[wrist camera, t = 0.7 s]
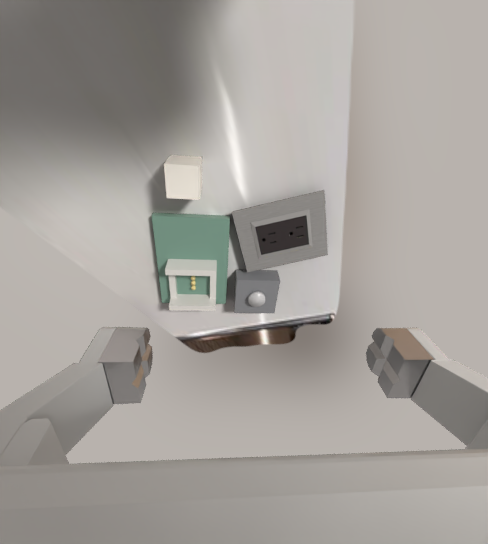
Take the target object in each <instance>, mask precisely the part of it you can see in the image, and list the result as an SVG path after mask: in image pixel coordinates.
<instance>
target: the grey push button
mask: <svg viewBox="0 0 488 544" xmlns="http://www.w3.org/2000/svg"><path fill="white" fill-rule="evenodd" d="M279 284H280V279H279V276H278V272H277V271H273V270H256V271H252V272H247V270H236V277H235V291H234V313H274V312H275V306H276V301H277V295H278V290H279Z"/></svg>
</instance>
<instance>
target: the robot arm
mask: <svg viewBox="0 0 488 544" xmlns="http://www.w3.org/2000/svg"><path fill="white" fill-rule="evenodd" d="M372 338H373V340H374V342H373V343H371V344H370V345H369V346H368V349H367V352H366V355H367V363H368V366H369V368H370V370H371V371H372V372H373V373H374V374H376V375H377V376H379V378H378V383H379V385H380V386H381V388H382V390H383V391H384V393H385V395H386V396H387V398H411V400H412V401H413V402H415V403H416V404H417V405H418V406H419V407H421V408H422V409H423V410H424V411H426V412H427V413H428V414H429V415H430V416H431V417H433V418H434V419H435V420H436V421H438V422H439V423H440V424H441V425H442V426H444V427H445V428H446V429H447V430H448V431H450V432H451V433H452V434H453V435H455V436H456V437H457V438H458V439H459V440H460V441H462V442H463V443H464V444H465V445H467V447H466V448H465V449H459V450H433V451H432V450H431V451H406V452H379V453H352V454H327V455H298V456H273V457H245V458H244V457H243V458H217V459H216V458H215V459H188V460H161V461H136V462H135V461H134V462H107V463H78V464H69V462H68V460H67V458H66V456H65V455H66V454H67V453H68V452H69V451H70V450H71V449H72V448H73V447H74V446H75V445H76V444H77V443H78V442H79V440H81V438H83V436H85V434H86V433H87V432H88V431H89V430H90V429H91V428H92V427H93V426H94V425H95V424H96V423H97V422H98V421H99V420H100V419H101V418H102V417H103V416H104V415H105V414H106V413H107V412H108V411H109V410H110V409H111V408H112V407H113V404H128V403H141V400H142V397H143V394H144V390H145V387H146V382H145V378H146V377H147V376H148V375H149V374H150V370H151V365H152V347H151V346H150V345H149V344H148V342H149V340H150V332H149V329H148V328H133V327H118V328H117V327H103V328H101V329H99V331H98V332H97V334H96V336H95V337H94V339H93V340H92V342H91V344H90V345H89V347H88V349H87V350H86V352H85V353H84V355H83V357H82V358H81V360H80V362H79V363H74V364H72V365H70V366H69V367H67V368H66V369H64V370H62V371H61V372H60V373H58V374H56V375H55V376H53V377H51V378H50V379H49V380H47V381H45V382H44V383H42V384H41V385H39V386H37V387H36V388H34V389H33V390H31V391H30V392H28V393H26V394H25V395H23V396H22V397H20V398H19V399H17V400H15V401H14V402H12V403H11V404H9V405H8V406H6V407H5V408H3V409H1V410H0V544H488V378H487V377H485V376H483V375H482V374H480V373H478V372H476V371H474V370H472V369H470V368H468V367H467V366H465V365H463V364H461V363H459V362H457V361H455V360H450V359H449V358H448V357H447V356H446V355H445V354H444V353H443V352H442V351H441V350H440V349H439V348H438V347H437V346H436V345H435V344H434V343H433V342H432V341H431V340H430V339H429V338H428V336H426V334H425V333H424V332H423V331H422V330H420V329H418V328H377V329H376V330H375V331H374V332H373V335H372Z"/></svg>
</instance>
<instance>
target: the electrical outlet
mask: <svg viewBox="0 0 488 544" xmlns="http://www.w3.org/2000/svg"><path fill="white" fill-rule="evenodd" d="M232 216H233V220H234V224H235V227H236V231H237V235H238V239H239V243H240V247H241V251H242V254H243V258H244V262H245V266H246V270H247V272H252V271H256V270H261V269H265V268H270V267H274V266H279V265H284V264H288V263H293V262H297V261H302V260H306V259H311V258H316V257H320V256H325V255H328V252H327V233H326V214H325V194H324V190H322V191H318V192H314V193H309V194H305V195H301V196H297V197H292V198H288V199H284V200H280V201H275V202H271V203H267V204H263V205H258V206H254V207H250V208H246V209H241V210H237V211H233V212H232Z"/></svg>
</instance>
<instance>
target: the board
mask: <svg viewBox="0 0 488 544" xmlns="http://www.w3.org/2000/svg"><path fill="white" fill-rule="evenodd" d="M152 223H153V232H154V240H155V248H156V257H157V265H158V273H159V282H160V290H161V298H162V303H169V310H178V311H216V304H226V288H227V268H228V247H229V227H230V216H219V215H196V214H173V213H153V214H152Z"/></svg>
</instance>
